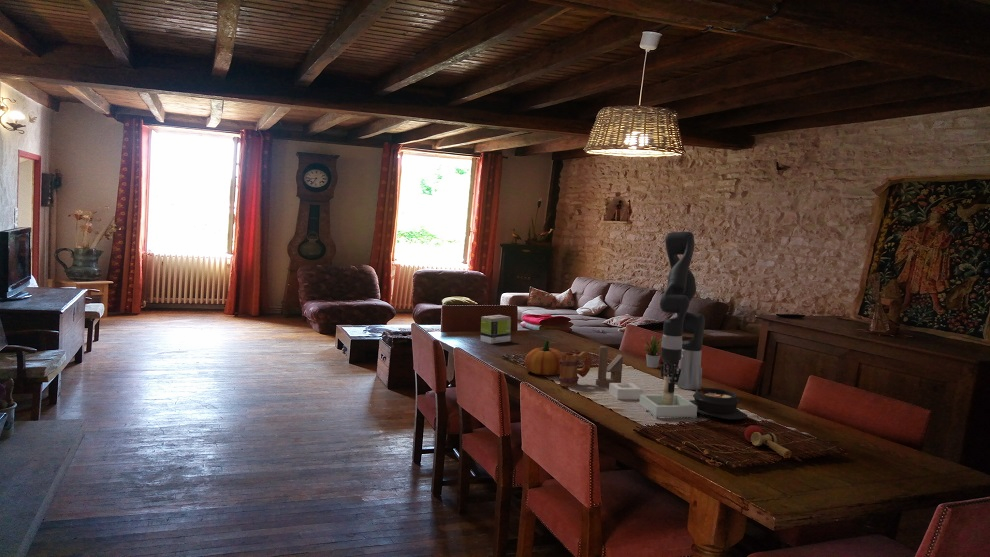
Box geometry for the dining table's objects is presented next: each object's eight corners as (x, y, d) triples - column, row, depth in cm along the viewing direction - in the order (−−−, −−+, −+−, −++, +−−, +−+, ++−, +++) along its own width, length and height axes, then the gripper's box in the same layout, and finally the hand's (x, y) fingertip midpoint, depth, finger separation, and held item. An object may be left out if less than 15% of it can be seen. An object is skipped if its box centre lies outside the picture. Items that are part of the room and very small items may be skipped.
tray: (677, 405, 257) (678, 394, 256) (696, 418, 241) (697, 406, 241) (639, 405, 254) (640, 394, 254) (655, 418, 238) (656, 406, 238)
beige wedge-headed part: (621, 387, 281) (623, 347, 280) (599, 389, 278) (602, 347, 276) (616, 385, 285) (619, 345, 283) (595, 386, 281) (597, 346, 279)
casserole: (673, 408, 254) (674, 387, 253) (706, 403, 263) (707, 382, 262) (724, 426, 232) (726, 404, 232) (758, 420, 242) (760, 398, 241)
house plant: (675, 369, 321) (677, 337, 320) (651, 371, 316) (653, 338, 315) (657, 363, 335) (659, 332, 333) (635, 364, 329) (637, 333, 328)
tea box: (499, 338, 385) (500, 314, 383) (510, 341, 377) (511, 316, 376) (479, 341, 375) (480, 315, 374) (490, 344, 367) (491, 318, 366)
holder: (631, 394, 270) (632, 383, 270) (640, 401, 261) (641, 389, 260) (608, 394, 269) (609, 383, 268) (617, 401, 259) (617, 389, 258)
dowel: (670, 404, 250) (672, 376, 249) (674, 407, 246) (676, 378, 245) (660, 404, 249) (662, 376, 248) (664, 407, 245) (666, 378, 244)
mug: (561, 389, 275) (563, 354, 273) (554, 384, 283) (556, 350, 281) (593, 388, 279) (595, 353, 277) (585, 383, 287) (587, 349, 285)
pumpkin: (520, 375, 296) (522, 343, 295) (528, 366, 315) (529, 336, 313) (562, 379, 292) (564, 346, 290) (567, 370, 310) (569, 339, 309)
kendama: (797, 461, 204) (757, 435, 220) (798, 443, 202) (757, 418, 219) (778, 468, 202) (738, 441, 218) (779, 450, 200) (739, 424, 216)
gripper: (689, 350, 239) (686, 396, 241) (672, 343, 253) (669, 386, 255) (670, 350, 238) (667, 396, 239) (654, 342, 252) (651, 386, 253)
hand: (668, 390), depth 247 cm, fingers closed on dowel, 3 cm apart
